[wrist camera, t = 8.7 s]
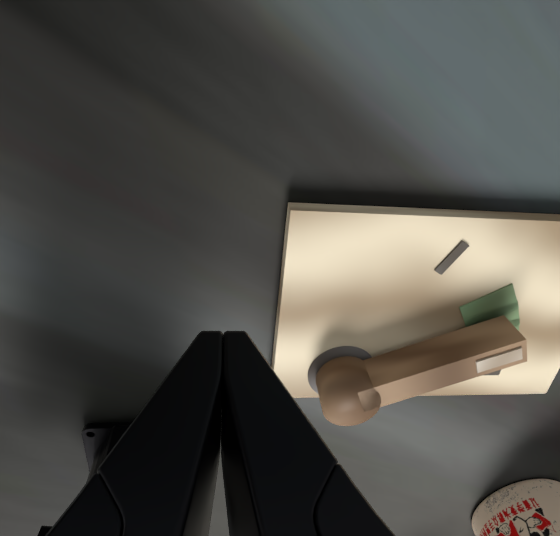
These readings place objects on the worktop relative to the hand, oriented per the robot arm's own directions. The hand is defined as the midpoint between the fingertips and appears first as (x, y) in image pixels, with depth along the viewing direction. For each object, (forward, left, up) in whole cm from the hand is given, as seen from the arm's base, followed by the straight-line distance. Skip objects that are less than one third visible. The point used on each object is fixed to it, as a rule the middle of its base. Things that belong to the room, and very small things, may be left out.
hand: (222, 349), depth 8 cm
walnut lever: (-10, -11, -12) cm, 19 cm away
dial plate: (-8, -12, -13) cm, 19 cm away
